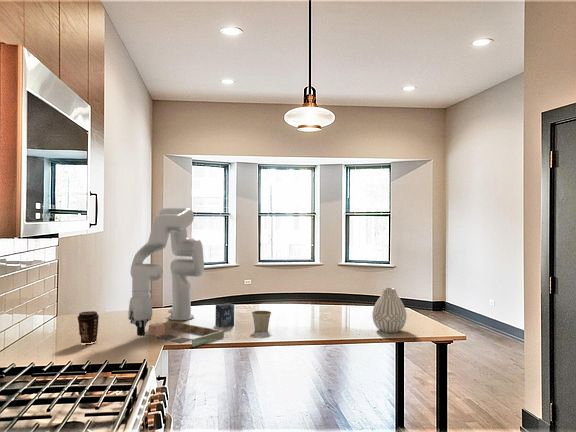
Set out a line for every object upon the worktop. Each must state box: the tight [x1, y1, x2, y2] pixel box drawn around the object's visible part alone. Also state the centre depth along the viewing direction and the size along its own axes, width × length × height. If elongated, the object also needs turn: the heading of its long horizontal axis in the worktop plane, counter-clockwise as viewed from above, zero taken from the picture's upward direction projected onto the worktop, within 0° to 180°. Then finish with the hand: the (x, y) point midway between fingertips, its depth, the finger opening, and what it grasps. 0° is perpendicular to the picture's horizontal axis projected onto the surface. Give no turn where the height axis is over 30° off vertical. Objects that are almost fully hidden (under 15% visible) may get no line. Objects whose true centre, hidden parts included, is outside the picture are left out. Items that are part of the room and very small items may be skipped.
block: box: [148, 322, 166, 337], centre depth 230 cm, size 5×5×4 cm
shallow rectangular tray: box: [169, 321, 225, 348], centre depth 226 cm, size 33×19×3 cm, turn 56°
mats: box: [157, 334, 193, 344], centre depth 222 cm, size 15×7×1 cm, turn 56°
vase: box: [371, 287, 408, 334], centre depth 238 cm, size 16×16×20 cm
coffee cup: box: [77, 310, 100, 343], centre depth 214 cm, size 9×8×13 cm
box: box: [214, 302, 235, 328], centre depth 248 cm, size 8×6×11 cm
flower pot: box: [251, 310, 272, 333], centre depth 238 cm, size 9×9×9 cm
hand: (140, 335), depth 223 cm, fingers closed
